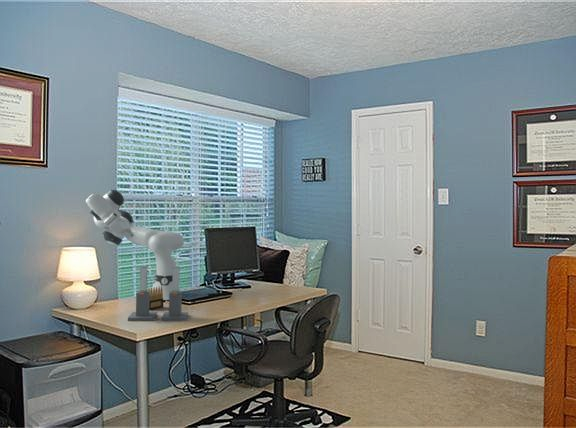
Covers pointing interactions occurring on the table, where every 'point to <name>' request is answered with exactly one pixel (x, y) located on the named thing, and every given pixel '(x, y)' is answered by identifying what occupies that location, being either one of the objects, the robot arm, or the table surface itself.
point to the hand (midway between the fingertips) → (131, 237)
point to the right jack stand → (175, 300)
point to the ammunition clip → (156, 298)
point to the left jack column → (143, 279)
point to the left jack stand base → (142, 308)
